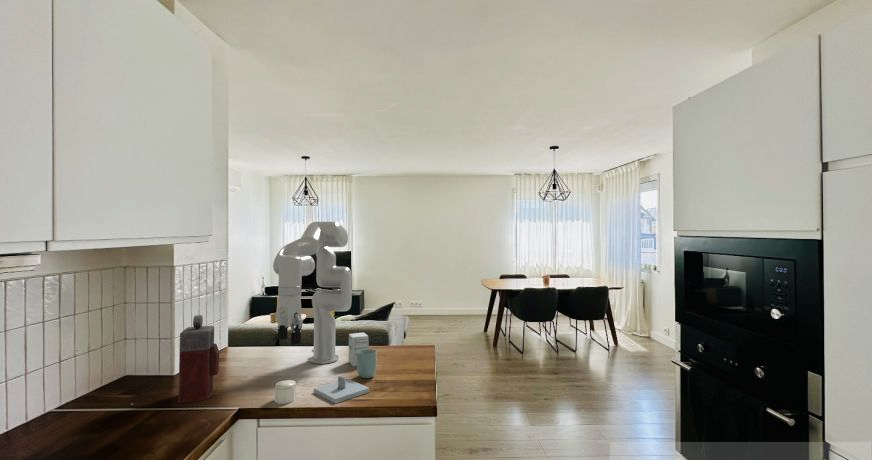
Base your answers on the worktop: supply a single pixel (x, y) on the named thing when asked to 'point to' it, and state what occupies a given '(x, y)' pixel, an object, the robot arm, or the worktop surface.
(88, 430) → the worktop surface
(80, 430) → the worktop surface
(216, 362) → the red grey canister
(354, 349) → the supplement box
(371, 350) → the cup
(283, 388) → the cap
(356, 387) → the stud plate
